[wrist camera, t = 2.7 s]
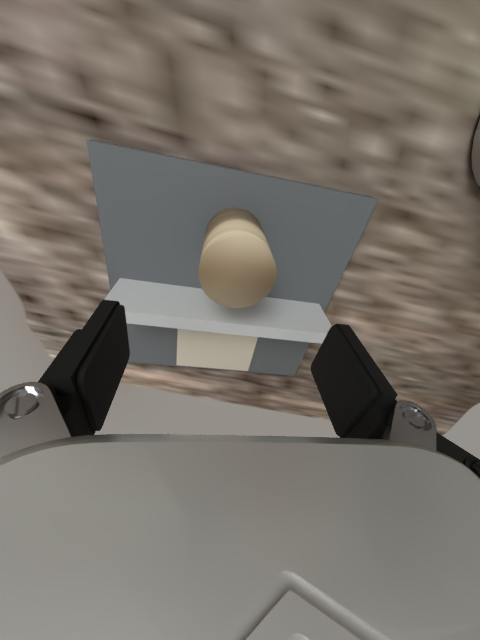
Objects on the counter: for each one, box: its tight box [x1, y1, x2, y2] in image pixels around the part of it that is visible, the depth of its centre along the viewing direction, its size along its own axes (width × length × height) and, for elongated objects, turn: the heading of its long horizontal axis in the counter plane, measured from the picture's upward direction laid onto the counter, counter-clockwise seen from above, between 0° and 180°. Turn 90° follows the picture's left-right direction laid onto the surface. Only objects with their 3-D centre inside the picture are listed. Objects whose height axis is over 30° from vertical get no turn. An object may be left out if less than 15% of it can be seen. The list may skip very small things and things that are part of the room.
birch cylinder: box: [198, 208, 277, 308], centre depth 18 cm, size 5×5×7 cm
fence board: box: [87, 140, 378, 376], centre depth 23 cm, size 22×22×6 cm
